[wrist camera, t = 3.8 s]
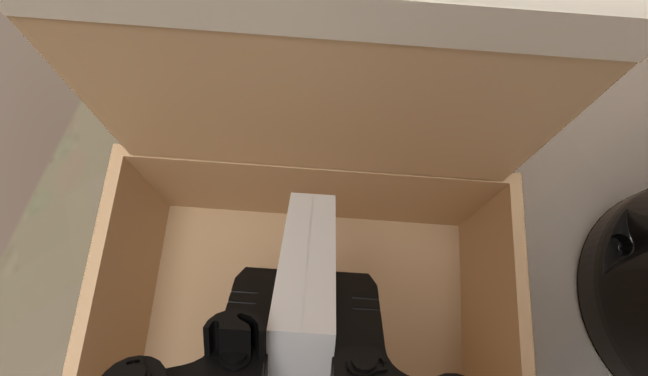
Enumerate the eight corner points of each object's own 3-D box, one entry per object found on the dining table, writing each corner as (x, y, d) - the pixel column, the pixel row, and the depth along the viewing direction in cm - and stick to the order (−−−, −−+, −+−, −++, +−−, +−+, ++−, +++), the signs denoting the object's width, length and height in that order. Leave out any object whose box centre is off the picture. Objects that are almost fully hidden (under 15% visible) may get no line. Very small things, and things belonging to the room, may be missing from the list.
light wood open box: (464, 219, 32) (521, 172, 24) (472, 455, 28) (545, 500, 19) (164, 199, 32) (113, 143, 24) (123, 433, 28) (40, 469, 19)
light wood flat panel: (502, 168, 24) (682, -2, 12) (503, 181, 23) (687, 21, 12) (132, 142, 23) (-32, -56, 12) (129, 155, 23) (-40, -33, 12)
